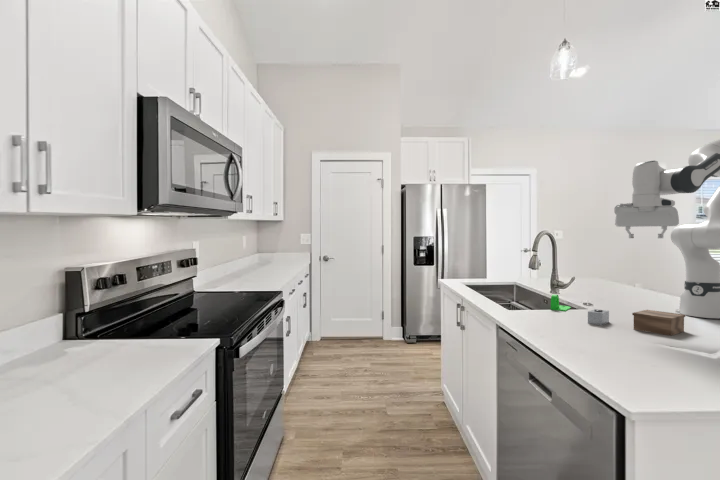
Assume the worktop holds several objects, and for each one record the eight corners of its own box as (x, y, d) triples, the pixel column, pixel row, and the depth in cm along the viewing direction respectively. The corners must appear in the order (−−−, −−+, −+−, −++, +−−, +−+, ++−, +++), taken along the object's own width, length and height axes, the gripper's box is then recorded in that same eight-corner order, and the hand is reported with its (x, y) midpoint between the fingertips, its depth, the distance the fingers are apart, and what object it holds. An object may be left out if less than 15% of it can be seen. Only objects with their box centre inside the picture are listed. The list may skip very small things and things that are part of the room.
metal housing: (594, 321, 162) (594, 308, 162) (608, 323, 158) (608, 309, 158) (587, 324, 157) (587, 310, 157) (602, 326, 153) (602, 312, 153)
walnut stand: (646, 325, 154) (646, 309, 154) (685, 331, 144) (685, 314, 144) (632, 329, 148) (632, 312, 148) (671, 335, 138) (671, 318, 138)
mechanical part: (565, 314, 177) (565, 296, 177) (550, 313, 181) (550, 295, 181) (572, 310, 186) (572, 293, 186) (558, 309, 190) (558, 292, 190)
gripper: (615, 203, 160) (615, 238, 160) (680, 201, 151) (680, 238, 151) (613, 204, 165) (613, 238, 165) (676, 202, 156) (675, 238, 156)
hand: (645, 238), depth 158 cm, fingers open, 8 cm apart
